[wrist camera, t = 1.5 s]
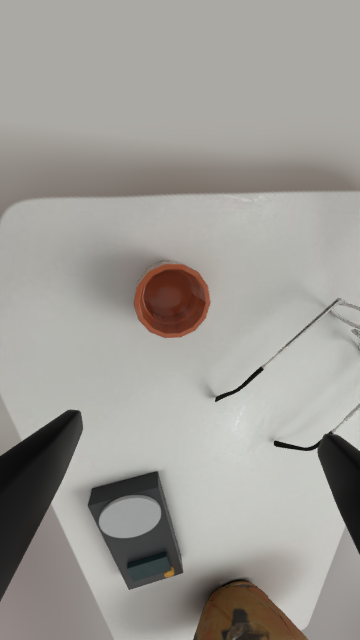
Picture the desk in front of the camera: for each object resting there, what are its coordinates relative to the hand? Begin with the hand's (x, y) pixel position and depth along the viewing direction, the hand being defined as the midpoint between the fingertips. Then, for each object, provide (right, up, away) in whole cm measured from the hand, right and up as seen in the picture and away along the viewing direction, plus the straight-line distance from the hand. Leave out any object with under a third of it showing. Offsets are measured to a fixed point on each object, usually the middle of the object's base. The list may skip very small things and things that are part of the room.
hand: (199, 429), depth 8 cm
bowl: (+9, -53, +35) cm, 64 cm away
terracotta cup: (-2, +7, +13) cm, 15 cm away
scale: (-7, -28, +24) cm, 37 cm away
